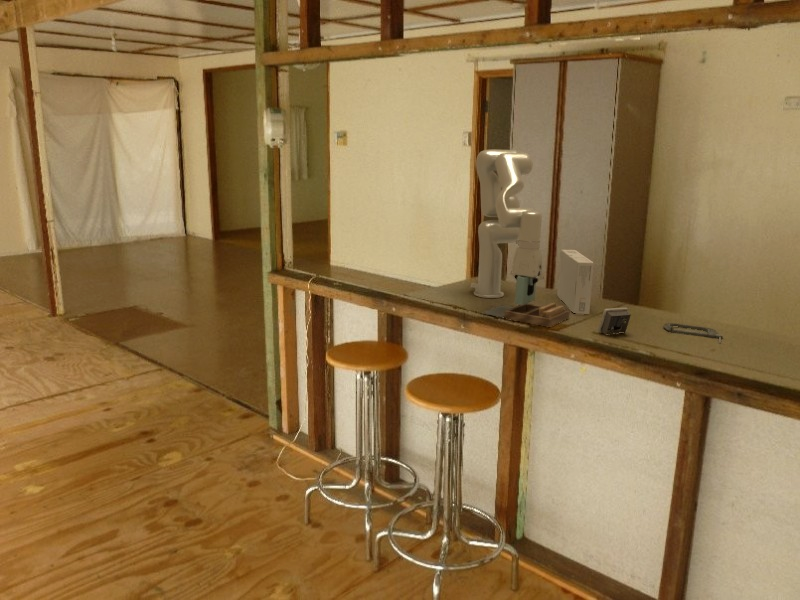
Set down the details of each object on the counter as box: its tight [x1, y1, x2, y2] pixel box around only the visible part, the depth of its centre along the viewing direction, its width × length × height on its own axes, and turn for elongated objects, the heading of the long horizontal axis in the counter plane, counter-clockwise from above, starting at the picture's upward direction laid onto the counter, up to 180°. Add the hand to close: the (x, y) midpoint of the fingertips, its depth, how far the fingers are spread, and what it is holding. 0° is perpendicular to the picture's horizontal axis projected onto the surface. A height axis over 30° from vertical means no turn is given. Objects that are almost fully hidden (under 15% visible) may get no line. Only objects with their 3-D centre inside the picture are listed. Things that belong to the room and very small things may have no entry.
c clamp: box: [662, 322, 724, 345], centre depth 233 cm, size 20×17×3 cm
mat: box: [480, 304, 515, 318], centre depth 256 cm, size 9×16×1 cm, turn 143°
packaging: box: [556, 249, 595, 315], centre depth 268 cm, size 30×6×20 cm, turn 179°
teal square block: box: [514, 276, 538, 306], centre depth 248 cm, size 3×10×10 cm, turn 143°
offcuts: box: [539, 302, 565, 318], centre depth 244 cm, size 5×12×6 cm, turn 143°
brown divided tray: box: [503, 303, 571, 328], centre depth 247 cm, size 18×16×3 cm
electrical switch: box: [597, 307, 632, 336], centre depth 229 cm, size 9×5×9 cm, turn 108°
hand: (525, 293), depth 249 cm, fingers closed on teal square block, 3 cm apart
